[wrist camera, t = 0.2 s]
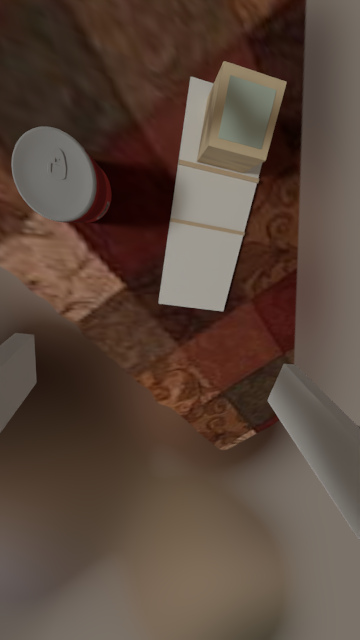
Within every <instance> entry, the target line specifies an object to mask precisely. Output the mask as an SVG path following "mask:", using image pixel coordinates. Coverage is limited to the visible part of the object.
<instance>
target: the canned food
mask: <svg viewBox="0 0 360 640" xmlns="http://www.w3.org/2000/svg"><path fill="white" fill-rule="evenodd" d="M11 164H12V174H13V178H14V182H15V184H16V187H17V189H18V191H19V193H20V195H21V196H22V198H23V199H24V201H25V202H26V203H27V204H28V205H29V206H30V207H31V208H32V209H33V210H34V211H35V212H37V213H38V214H40V215H42V216H43V217H45V218H48V219H51V220H53V221H58V222H94V221H97V220H99V219H100V218H102V217H103V216H104V215H105V214H106V212H107V211H108V209H109V207H110V203H111V196H112V193H111V186H110V182H109V180H108V178H107V176H106V174H105V172H104V171H103V170H102V168H101V167H100V166H99V165H98V164H97V163H96V161H95V160H94V159H93V158H92V157H91V156H90V155H89V153H88V152H87V151H86V150H85V149H84V148H83V147H82V146H81V145H80V144H79V143H78V142H77V141H76V140H75V139H74V138H72V137H71V136H70V135H68V134H67V133H65V132H63V131H61V130H59V129H56V128H52V127H37V128H33V129H31V130H29V131H27V132H26V133H24V134H23V135H22V136H21V137H20V138H19V140H18V142H17V143H16V145H15V148H14V151H13V154H12V163H11Z"/></svg>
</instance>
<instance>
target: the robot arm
mask: <svg viewBox="0 0 360 640" xmlns="http://www.w3.org/2000/svg"><path fill="white" fill-rule="evenodd" d="M35 384H36V364H35V346H34V335H29V334H20V333H15V334H14V335H12V336H11V337H10V338H9V339H8V340H7V341H5V342H4V343H3V344H2V345H0V432H1V431H2V429H3V428H4V427H5V425H6V424H7V423H8V421H9V420H10V418H11V417H12V416H13V414H14V413H15V411H16V410H17V409H18V407H19V406H20V405H21V403H22V402H23V400H24V399H25V398H26V396H27V395H28V394H29V392H30V391H31V389H32V388H33V387H34V385H35ZM267 401H268V402H269V404H270V405H271V407H272V408H273V410H274V412H275V413H276V415H277V416H278V418H279V419H280V421H281V422H282V424H283V425H284V427H285V428H286V430H287V431H288V433H289V434H290V436H291V438H292V439H293V441H294V442H295V444H296V445H297V447H298V448H299V450H300V451H301V453H302V454H303V456H304V457H305V459H306V460H307V462H308V463H309V465H310V466H311V468H312V470H313V471H314V473H315V474H316V476H317V477H318V479H319V480H320V482H321V483H322V485H323V486H324V488H325V489H326V491H327V492H328V494H329V496H330V497H331V498H332V500H333V502H334V503H335V505H336V506H337V508H338V509H339V511H340V512H341V514H342V515H343V517H344V519H345V520H346V522H347V523H348V525H349V526H350V528H351V529H352V531H353V532H354V534H355V535H356V537H357V538H358V539H360V427H359V426H357V425H356V424H355V423H354V422H353V421H352V420H351V419H350V418H349V417H348V416H347V415H346V414H345V413H344V412H343V411H342V410H341V409H340V408H339V407H338V406H337V405H336V404H335V403H334V402H333V401H332V400H331V399H330V398H329V397H328V396H327V395H325V393H324V392H323V391H322V390H320V388H319V387H318V386H317V385H315V384H314V383H313V382H312V381H311V380H310V379H309V378H308V377H307V376H306V375H305V374H304V373H303V372H302V371H301V370H300V369H299V368H298V367H297V366H296V365H292V364H284V365H283V367H282V369H281V371H280V373H279V376H278V378H277V380H276V382H275V385H274V387H273V389H272V391H271V394H270V396H269V398H268V400H267Z"/></svg>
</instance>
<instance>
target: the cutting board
mask: <svg viewBox="0 0 360 640" xmlns="http://www.w3.org/2000/svg"><path fill="white" fill-rule="evenodd" d="M212 86H213V83H210V82H207V81H204V80H200V79H197V78H194V77H191V78H190V83H189V90H188V97H187V104H186V111H185V118H184V126H183V133H182V140H181V147H180V154H179V161H178V168H177V175H176V182H175V189H174V196H173V203H172V210H171V217H170V224H169V231H168V238H167V246H166V253H165V260H164V267H163V274H162V281H161V288H160V295H159V302H158V303H159V304H167V305H175V306H183V307H191V308H199V309H207V310H215V311H224V307H225V303H226V299H227V295H228V292H229V288H230V284H231V280H232V276H233V273H234V269H235V265H236V261H237V257H238V254H239V250H240V246H241V242H242V238H243V235H245V232H244V231H245V227H246V223H247V219H248V216H249V212H250V208H251V204H252V200H253V196H254V193H255V189H256V185H257V183H258V182H259V179H258V177H259V174H260V170H261V166H262V163H261V164H259V165H257V166H255V167H253V168H251V169H250V170H248V171H246V172H244V173H241V172H236V171H232V170H228V169H224V168H220V167H216V166H212V165H208V164H204V163H200V162H197V158H198V152H199V146H200V140H201V134H202V128H203V122H204V116H205V110H206V104H207V98H208V95H209V93H210V91H211V89H212Z"/></svg>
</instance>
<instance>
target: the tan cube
mask: <svg viewBox="0 0 360 640" xmlns="http://www.w3.org/2000/svg"><path fill="white" fill-rule="evenodd" d="M286 83H287V82H286V81H283V80H280V79H277V78H274V77H271V76H268V75H265V74H262V73H259V72H256V71H253V70H250V69H247V68H244V67H241V66H238V65H235V64H232V63H229V62H226V61H224V62H223V64H222V66H221V69H220V71H219V73H218V75H217V78H216V80H215V82H214V84H213V86H212V89H211V91H210V93H209V95H208V98H207V104H206V110H205V116H204V122H203V128H202V134H201V140H200V146H199V152H198V158H197V162H200V163H204V164H208V165H212V166H216V167H220V168H224V169H228V170H232V171H236V172H241V173H244V172H246V171H248V170H250V169H251V168H253V167H255V166H257V165H259V164H261V163H262V162H264V161H266V158H267V154H268V150H269V147H270V143H271V139H272V135H273V132H274V128H275V124H276V120H277V117H278V113H279V109H280V105H281V102H282V98H283V94H284V90H285V87H286Z"/></svg>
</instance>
